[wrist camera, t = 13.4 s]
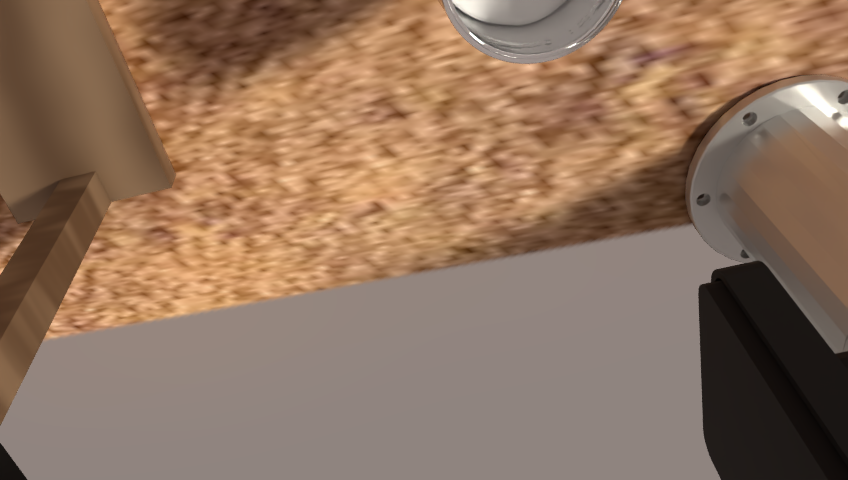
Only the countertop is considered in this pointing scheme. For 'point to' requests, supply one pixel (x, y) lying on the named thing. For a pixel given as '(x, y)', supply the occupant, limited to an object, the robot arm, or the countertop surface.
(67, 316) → the countertop surface
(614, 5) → the beer glass
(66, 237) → the stand
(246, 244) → the countertop surface
